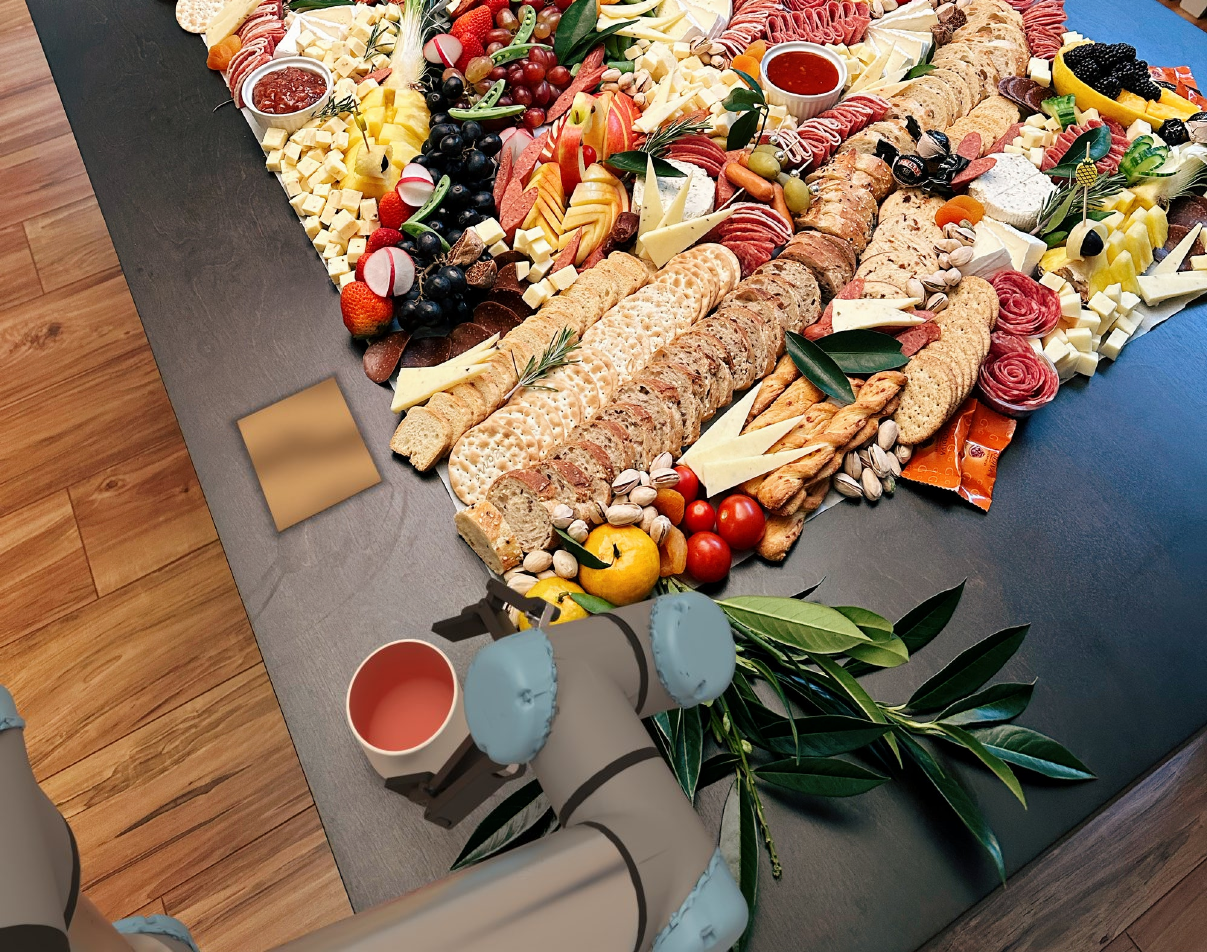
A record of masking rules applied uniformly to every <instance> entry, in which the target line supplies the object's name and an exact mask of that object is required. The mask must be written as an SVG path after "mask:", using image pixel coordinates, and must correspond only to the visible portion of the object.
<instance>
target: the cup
mask: <svg viewBox="0 0 1207 952" xmlns="http://www.w3.org/2000/svg"><path fill="white" fill-rule="evenodd" d="M463 692H464V690H463V689H462V687H461V683H460V681H459V678H458V676H457V672H456V670H455V667H454V665H453V663H452V661H451V660H450V658H449V656H447V655H446V654H445V652H444V651H442V650H441V649H440V648H439V647H438V646H436V645H434V644H432V643H430V642H428V641H426V640H423V639H417V638H404V639H398V640H394V641H391V642H388V643H385V644H384V645H381V646H380V647H378V648H377V649H375V650H374V651H372V652H371V653H369V655H368V656H367V657H366V658H365V659H364V660H363V661H362V662H361V663H360V665H359V666H358V667H357V668H356V670H355V672H354V674H353V675H352V678H351V680H350V682H349V685H348V689H347V693H346V701H345V711H346V717H347V718H346V719H347V722H348V725H349V727H350V730H351V731H352V732H351V733H353V735H354V737H355V738H356V740H357V742H358V743H359V745H360V747H361V748H362V751H363V752H364V754H365V756H366V757H367V759H368V761H369V762H370V764H371V766H372V767H373V768H374V770H375V771H376V773H378V774H379V776H381V777H382V778H383V779H385V780H386V779H387V778H389V777H395V776H402V775H408V774H414V773H420V772H427V771H430V772H432V773H434V774H437V773H438V771H439V770H440V769H441V768H442V766H443V765H444V764H445V763H446V762H447V760H448V759H449V758H450V757H451V755H452V754H453V753H454V752H455V751H456V749H457V748H458V747H459V746H460V744H461V743H462V742H463V741H464V740H465V738H466V737H467V736H468V735H469V733H470V731H469V728H468V725H467V722H466V718H465V712H464V701H463Z"/></svg>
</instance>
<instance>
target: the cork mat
mask: <svg viewBox="0 0 1207 952" xmlns="http://www.w3.org/2000/svg"><path fill="white" fill-rule="evenodd" d="M236 423H237V425H238V428H239V430H240V433H241V436H242V439H243V441H244V443H245V446H246V449H247V452H248V454H249V457H250V459H251V462H252V465H253V467H254V471H255V474H256V475H257V478H258V480H259V484H260V486H261V489H262V492H263V494H264V497H265V499H266V502H267V505H268V507H269V510H270V513H271V515H272V518H273V521H274V524H275V527H276V529H277V531H278V533H281V532H283V531H286V530H287V529H289V528H291V527H293V526H295V525H297V524H299V523H302V522H303V521H305V520H307V519H309V518H311V517H314V516H315V515H317V514H319V513H321V512H323V511H325V510H327V509H330V508H331V507H333V506H335V505H337V504H339V503H341V502H344V501H345V500H348V499H350V498H352V497H353V496H356V495H357V494H359V493H362V492H363V491H366V490H368V489H369V488H371V487H374V486H376V485H377V484H380V483H382V482H383V480H382V477H381V476H380V474H379V472H378V469H377V467H376V465H375V463H374V461H373V458H372V456H371V454H370V453H369V449H368V448H367V446H366V443H365V442H364V439H363V437H362V435H361V433H360V430H359V428H358V426H357V424H356V421H355V420H354V418H353V415H352V414H351V411H350V408H349V407H348V404H347V403H346V400H345V398H344V396H343V394H342V391H341V390H340V387H339V385H338V383H337V381H336V379H335V376H332V377H330V378H328V379H325V380H324V381H321V382H319V383H317V384H315V385H313V386H311V387H308V388H306V389H304V390H302V391H300V392H297V393H295V394H293V395H291V396H289V397H287V398H284V399H282V400H280V401H277V402H275V403H273V404H270V405H269V406H267V407H265V408H262V409H260V410H258V411H256V412H254V413H251V414H249V415H247V416H245V417H243V418H240V419H239V420H237V421H236Z"/></svg>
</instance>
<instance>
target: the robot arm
mask: <svg viewBox="0 0 1207 952" xmlns="http://www.w3.org/2000/svg"><path fill="white" fill-rule="evenodd" d="M485 590H486V591H487V593H486V595H485V597H482V598H480V599H479V601H478V602H476V603H473V604H470V605H466V606H464V607H463V608H462V609H461V612H460V614H458V615H455V616H452V617H448V618H446V619H443V620H439V621H436V622H432V626H431V629H430V632H432V633H434V634H436V635H438V636H440V637H441V638H443V639H445V640H447V641H449V642H451V643H458V642H461V641H464V640H468V639H471V638H475V637H479V636H481V635H486V634H489V635H490V636H491V638H492V640H493V641H492V642H490V643H488V644H486V645H484V646H483V647H482V648H480V650H479V651H478V652H477V653H476V654H475V655H474V656H473V659H472V661H471V662H470V664H469V666H468V668H467V671H466V674H465V679H464V684H463V701H464V712H465V718H466V722H467V725H468V728H469V731H470V733H469V735H468V736H467V737H466V738H465V740H464V741H463V742H462V743H461V744H460V746H459V747H458V748H457V749H456V751H455V752H454V753H453V754H452V755H451V757H450V758H449V759H448V760H447V762H446V763H445V764H444V765H443V766H442V768H441V769H440V770H439V771H438V773H437V774H434V773H432V772H430V771H427V772H420V773H414V774H408V775H402V776H395V777H389V778H387V779H385V783H384V786H383V788H385V789H387V790H389V791H391V792H392V793H396V794H397V795H401V796H402V797H403V798H404V797H405V798H407V799H408V801H410V802H411V803H413V804H416V805H418V806H420V807H422V808H425V809H424V812H423V819H424V820H425V821H427V822H429V823H431V824H434V825H436V826H438V827H440V828H443V829H445V830H448V831H451V830H453V829H454V828H455V827H456V826H458V825H459V824H460V823H461V822H463V820H464V819H466V818H467V817H468V816H469V815H471V814H472V813H473V812H474V811H475V810H476V809H477V808H479V807H480V806H481V805H482V804H484V802H486V801H487V800H488V799H489V798H490V797H492V795H494V794H495V793H496V792H497V791H498V790H500V789H501V788H502V787H503V786H504V785H506V784H507V783H508V782H511V781H514V780H517V779H520V778H522V777H524V775H525V774H526V772H527V769H528V764H529V765H530V767H531V769H532V771H533V773H534V775H535V777H536V779H537V781H538V784H539V786H541V789H542V790H543V792H544V794H545V796H546V798H547V801H548V802H549V804H550V806H551V808H552V810H553V812H554V814H555V816H556V818H557V820H558V822H559V823H560V825H561V827H562V829H559V830H557V831H553V832H551V833H550V834H547V835H544V836H542V837H540V838H537V839H535V840H532V841H529V842H528V843H525V844H522V845H520V846H518V847H514V848H512V849H510V850H508V851H504V852H503V853H500V854H498V855H496V856H495V855H494V856H493V857H491V858H489V859H486V860H484V861H481V862H479V863H476V864H473V865H471V866H469V867H466V868H464V869H462V870H459V871H456V872H454V873H451V874H449V875H446V876H445V877H442V878H439V879H437V880H434V881H432V882H430V883H428V884H425V885H422V886H420V887H417V888H415V889H412V890H410V891H408V892H405V893H403V894H401V895H399V896H398V895H397V896H395V897H393V898H390V899H388V900H386V901H383V902H381V903H378V904H376V905H373V906H371V907H368V908H366V909H364V910H361V911H358V912H357V913H353V914H352V915H349V916H346V917H344V918H342V919H339V920H337V921H335V922H332V923H329V924H327V925H325V926H322V927H320V928H317V929H315V930H313V931H310V932H308V933H305V934H302V935H300V936H298V937H296V938H293V939H291V940H289V941H286V942H283V943H281V944H279V945H275V946H274V947H271V948H269V949H266V950H264V951H263V952H728V951H729V950H730V949H731V948H732V947H733V946H734V945H735V943H737V941H738V940H739V939H740V938H741V936H742V935H743V933H744V932H745V930H746V928H747V926H748V922H749V917H750V916H749V915H750V914H749V907H748V903H747V900H746V898H745V897H744V895H743V893H742V891H741V889H740V887H739V885H738V883H737V881H736V879H735V877H734V875H733V873H732V871H731V869H730V867H729V864H727V861H726V860H725V857H724V856H723V853H722V852H723V851H722V850H721V848H720V846H719V845H718V844H716V843H715V841H714V839H713V838H712V836H711V835H710V832H708V830H707V828H706V826H705V824H704V823H703V821H702V820H701V818H700V817H699V815H698V813H697V812H696V810H695V809H694V807H693V805H692V804H691V801H690V800H689V799H688V797H687V795H686V794H685V792H684V790H683V789H682V787H681V786H680V784H679V781H677V779H676V777H675V776H674V774H673V773H672V770H670V768H669V766H668V764H667V763H666V762H665V759H664V758H663V756H662V754H661V753H660V751H659V749H658V747H657V746H656V744H655V742H654V741H653V739H652V737H651V736H650V733H649V732H648V731H647V729H646V727H645V726H644V724H643V722H642V719H645V718H648V717H652V716H654V715H656V714H660V713H663V712H667V711H671V710H676V709H680V708H682V709H683V710H686V709H690V708H693V707H695V706H697V705H699V704H704V703H707V702H710V701H714V700H716V699H718V698H720V697H721V696H722V695H723V694H724V692H725V691H726V690H727V689H728V687H729V685H730V684H731V682H732V681H733V677H734V674H735V671H736V665H737V649H736V648H737V647H736V642H735V641H734V635H733V633H732V626H731V624H730V621H729V620H728V618H727V616H726V613H725V612H724V610H723V609H722V608H721V607H720V606H719V604H718V603H717V602H716V601H715V600H713V598H711V597H710V596H708V595H706V594H704V593H702V592H699V591H693V590H688V591H684V592H683V591H681V592H677V593H672V592H667V593H666V594H661V595H659V596H657V597H655V598H652V599H648V600H644V601H640V602H635V603H632V604H628V605H624V606H621V607H616V608H612V609H607V610H604V611H601V612H597V613H594V614H592V615H589V616H584V617H580V618H576V619H572V620H568V621H565V622H560V623H556V622H557V621H558V620H559V619H560V617H561V614H562V609H561V608H560V607H558V606H556V605H555V604H553V603H551V602H549V601H548V600H546V599H545V598H542V597H540V596H537V595H536V596H529V597H527V596H525V595H524V594H522V593H521V592H519V591H517V590H516V589H514V588H512V587H510V586H509V585H507V584H506V583H503V582H502V581H500V580H498V579H497V578H495V577H490V578H489V579H488V581H487V582H486V586H485ZM505 604H508V605H509V606H510V607H513V608H514V609H516V610H517V611H519V612H521V613H523V617H524V618H526V619H527V623H528V625H530V626H531V627H530V628H526V629H524V630H521V631H518V630H517V627H516V625H514V623H513V621H512V619H511V617H510V615H511V612H510V611H509V610H507V609H505V608H504V605H505ZM550 623H555V624H550ZM26 727H27V725H26V720H25V719H24V717H22V716H20V715H19V712H18V709H17V706H16V703H15V699H14V697H13V695H12V693H11V692H10V691H9V689H8V688H7V687H6V686H4V685H3V684H1V683H0V952H201V950H200V948H199V947H198V946H197V944H196V943H195V940H194V939H193V936H192V933H191V931H190V929H189V928H188V927H187V926H186V925H185V924H184V923H183V922H182V921H181V920H179V919H178V918H176V917H173V916H171V915H166V914H162V913H153V914H151V915H149V916H147V917H146V918H145V916H143V915H142V914H139V915H138V914H137V915H132V916H129V917H124V918H121V919H119V920H116V921H112V922H110V920H109V919H107V917H106V916H105V915H104V914H103V912H101V910H99V908H98V907H96V905H95V904H94V903H93V902H92V901H91V899H89V897H88V896H87V895H86V894H85V893H84V892H83V891H82V890H81V889H82V863H81V854H80V849H79V846H78V841H77V839H76V836H75V833H74V832H73V829H72V827H71V826H70V824H69V822H68V821H67V819H66V818H65V817H64V815H63V814H62V812H61V811H60V810H59V809H58V808H57V806H56V805H55V803H54V802H53V801H52V800H51V799H50V797H49V796H48V795H47V794H46V792H45V791H44V790H43V789H42V788H41V786H40V785H39V783H38V780H37V779H36V777H35V776H36V775H35V774H34V771H33V768H32V765H31V763H30V759H29V756H28V751H27V746H26V741H25V735H24V731H25V729H26ZM527 763H528V764H527Z"/></svg>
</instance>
